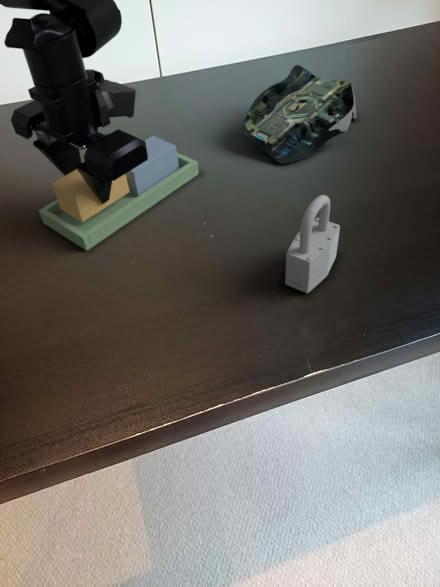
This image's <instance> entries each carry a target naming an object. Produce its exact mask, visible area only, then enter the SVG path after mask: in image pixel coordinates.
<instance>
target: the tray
mask: <svg viewBox="0 0 440 587" xmlns="http://www.w3.org/2000/svg"><path fill="white" fill-rule="evenodd" d="M177 158H178V165H179V170H177V171H176V172H174V173H173V174H171V175H170V176H168V177H167V178H165V179H164V180H162V181H161V182H159V183H158V184H156V185H155V186H153V187H152V188H150V189H149V190H147V191H146V192H144V193H143V194H141V195H140V196H138V197H137V196H135V195H134V194H132V193H130V192H129V193H127V194H126V195H124V196H123V197H121V198H120V199H118V200H116V201H115V202H113V203H112V204H110V205H109V206H107V207H106V208H104V209H103V210H101V211H100V212H98V213H96V214H95V215H93V216H92V217H90V218H89V219H87V220H86V221H84V222H81V221H79V220H78V219H76V218H74V217H73V216H71V215H69V214H68V213H66V212H64V211H63V210H61V209H60V206H59V203H58V200H57V199H55V200H53V201H51V202H50V203H48V204H47V205H45V206H43V207H42V208H41V209H38V212H39V215H40V217H41V220H42V223H43V224H44V225H45V226H48V227H49V228H50V229H52V230H53V231H55V232H56V233H58V234H60V235H61V236H63V237H64V238H66V239H68V240H69V241H70V242H72V243H73V244H75V245H77V246H78V247H80V248H81V249H83V250H85V251H89V250H91V249H92V248H93V247H95V246H96V245H98V244H99V243H101V242H102V241H103V240H106V238H108V237H109V236H111V235H112V234H114V233H115V232H116V231H118V230H120V229H121V228H122V227H124V226H125V225H127V224H128V223H130V222H131V221H133V220H134V219H136V218H137V217H138V216H140V215H141V214H143V213H144V212H146V211H147V210H149V209H150V208H152V207H153V206H155V205H156V204H158V203H159V202H160V201H162V200H164V199H165V198H166V197H168V196H169V195H170V194H172V193H173V192H175V191H176V190H178V189H179V188H181V187H183V185H185V184H187V183H188V182H189V181H191V180H193V179H194V178H195V177H197V176H198V175H199V164H198V163H199V162H198V161H197V160H195V159H193V158H190V157H188V156H186V155H184V154H181V153H180V152H177Z"/></svg>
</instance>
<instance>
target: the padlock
mask: <svg viewBox="0 0 440 587" xmlns="http://www.w3.org/2000/svg"><path fill="white" fill-rule="evenodd" d="M317 214H318V217H317ZM330 214H331V199H330V198H329V197H328V195H324V194H320V195H318V196H316V197H315V198H314V199H313V200H312V201H311V203H310V204H309V205H308V207H307V208H306V209H305V212H304V214H303V216H302V219H301V223H300V230H299V231H298V232H297V234H296V235H295V236H294V238H293V240H292V243H291V244H290V246H289V248H288V250H287V251H286V253H285V254H286V255H285V279H284V282H285V283H284V284H285V285H286V286H288V287H290V288H293V289H295V290H298V291H300V292H302V293H305V294H309V293H310V292H311V291H312V290H314V289H315V288H316V287H317V286H318V285H319V284H321V282H322V281H324V279H326V278H327V277H328V275H329V273H330V271H331V269H332V266H333V264H334V262H335V260H336V258H337V252H338V245H339V239H340V238H339V237H340V232H341V230H340V229H341V226H340V224H337V223H335V222H332V221H330Z"/></svg>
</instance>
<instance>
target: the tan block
mask: <svg viewBox="0 0 440 587" xmlns="http://www.w3.org/2000/svg"><path fill="white" fill-rule="evenodd" d="M51 185H52V188H53V192H54V195H55V197H56V200H58V203H59V206H60V209H61V210H63V211H64V212H66V213H68V214H69V215H71V216H73V217H74V218H76V219H78V220H79V221H81V222H84V221H86V220H87V219H89V218H90V217H92V216H93V215H95V214H96V213H98V212H100V211H101V210H103V209H104V208H106V207H107V206H109V205H110V204H112V203H113V202H115V201H116V200H118V199H120V198H121V197H123V196H124V195H126V194H127V193H129V187H128V183H127V178H126V174H124V175H123V176H121V177H119V178H118V179H116V180H115V181H112V186H111V192H110V199H109V200H108V201H107V202H105V203H101V202H100V200H99V199H98V198H97V197H96V195H95V194H94V192H93V191H92V190H91V188H90V187H89V185H88V184H87V183H86V181H85V180H84V178H83V177H82V176H81V174H80V173H79V171H78V170H77V169H76V170H74V171H72V172H71V173H69V174H67V175H66V176H64V175H63V176H62V177H61V178H59V179H57V180H55V181H54V182H52V183H51Z"/></svg>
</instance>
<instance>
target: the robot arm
mask: <svg viewBox="0 0 440 587" xmlns="http://www.w3.org/2000/svg"><path fill="white" fill-rule="evenodd" d="M0 5H1V6H3V7H4V8H9V9H20V10H30V11H31V10H33V11H47V12H49V13H46V12H41V13H40V12H39V13H37V14H34V15H33V16H32V17H30V18H23V17H22V18H21V17H13V18H12V22H11V26H10V28H9V30H8V31H7V33H6V34H5V38H4V41H3V42H4V46H5V47H6V48H9V49H19V50H22V51H23V54H24V58H25V61H26V63H27V67H28V70H29V73H30V77H31V79H32V82H33V85H34V86H32V87H30V88H28V89H27V91H28V94H29V97H30V99H31V101H30V102H27V103H26V104H23V105H21V106H19V107H17V108H15V109H14V110H13V112H12V115H11V117H10V122H11V125H12V127H13V130H14V132H15V134H16V135H17V136H20V137H22V138H24V139H26V140H30V139H31V138H32V137H33V135H34V133H35V135H36V136H35V137H36V139H35V140H34V141H32V145H33V147H34V148H35V149H37V150H38V151H39V152H40V153H41V154H42V155H43V156H44V157H45V158H46V159H48V161H49V162H50V163H51V164H52V165H53V166H54V167H55V168H56V169H57V170H58V171H59V172H60V173H61V174H62V175H63V177H64V176H66V175H67V174H69V173H71V172H72V171H74V170H76V169H77V170H78V171H79V173H80V174H81V176H82V177H83V178H84V180H85V181H86V183H87V184H88V185H89V187H90V188H91V190H92V191H93V192H94V194H95V195H96V197H97V198H98V199H99V200H100V202H101V203H105V202H107V201H108V200H109V199H110V192H111V186H112V181H115V180H116V179H118V178H119V177H121V176H123V175H124V174H126V173H127V172H129V171H131V170H132V169H134V168H135V167H137V166H139V165H140V164H142V163H143V162H145V161H147V160H148V153H147V148H146V142H145V140H143V139H141V138H139V137H137V136H135V135H133V134H130V133H128V132H126V131H124V130H121V129H120V128H117V129H116V130H114V131H112V132H110V133H106V134H104V133H102V132H99V128H105V127H107V126H110V125H111V123H112V122H111V118H122V117H127V118H128V119H130V118H133V117H134V116H135V107H136V106H135V104H136V94H137V93H136V92H137V90H136V88H133V87H130V86H127V85H126V84H125V85H124V84H122V83H119V82H117V81H112V80H109V79H105V76H104V74H103V73H102V72H101V71H98V70H96V69H94V68H93V69H92V68H91V69H89V68H88V69H87V68H86V67H85V62H84V59H86V58H90V57H92V56H93V55H95V54H96V53H97V52H98V51H99V50H101V49H102V48H104V46H106V45H107V44H108V43H109V42H110V41H111V40H113V39H114V38H115V37H116V36H117V35H118V34H119V33H120V31H121V29H122V24H123V19H122V12H121V10H120V9H119V7H118V5H117V3H116V2H115V0H0ZM85 149H86V150H85ZM83 150H85V153H84V155H83V159H84V161H83V162H82V157H81V153H80V151H83Z"/></svg>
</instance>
